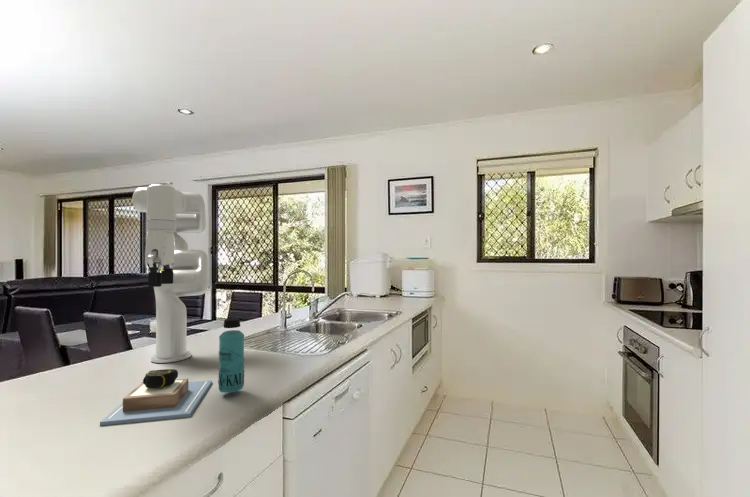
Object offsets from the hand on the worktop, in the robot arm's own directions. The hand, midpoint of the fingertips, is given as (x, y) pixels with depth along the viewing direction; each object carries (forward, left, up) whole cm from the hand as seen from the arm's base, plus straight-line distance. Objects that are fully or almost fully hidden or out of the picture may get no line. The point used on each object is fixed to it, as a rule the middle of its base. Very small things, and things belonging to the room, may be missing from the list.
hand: (161, 285), depth 105 cm
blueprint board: (+16, +6, -28) cm, 33 cm away
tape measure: (+16, +5, -25) cm, 30 cm away
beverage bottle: (+15, +22, -28) cm, 39 cm away
